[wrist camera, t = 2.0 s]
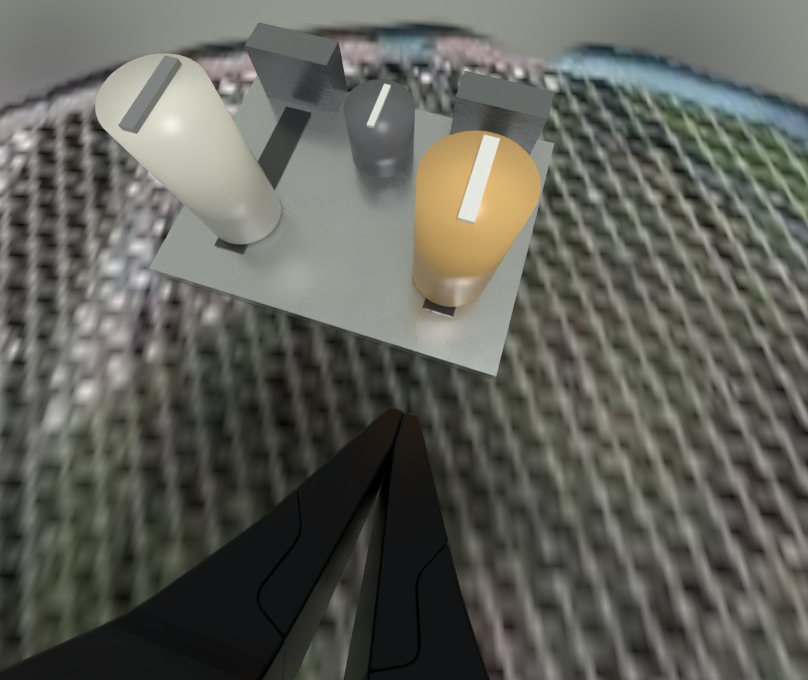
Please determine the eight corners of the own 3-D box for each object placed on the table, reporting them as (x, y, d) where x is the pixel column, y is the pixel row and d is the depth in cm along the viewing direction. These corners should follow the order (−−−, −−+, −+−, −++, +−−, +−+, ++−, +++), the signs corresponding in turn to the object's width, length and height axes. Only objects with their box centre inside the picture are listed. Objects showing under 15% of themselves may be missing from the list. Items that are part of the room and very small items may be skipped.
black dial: (402, 184, 20) (402, 141, 16) (343, 168, 20) (332, 123, 17) (421, 135, 20) (424, 85, 17) (364, 120, 21) (357, 69, 18)
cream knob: (263, 253, 18) (173, 150, 11) (195, 233, 18) (67, 121, 11) (292, 191, 19) (226, 62, 12) (227, 173, 19) (127, 37, 12)
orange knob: (478, 316, 17) (528, 247, 10) (402, 294, 17) (400, 212, 10) (496, 248, 18) (554, 142, 11) (424, 228, 18) (436, 113, 11)
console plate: (490, 378, 18) (515, 367, 14) (164, 276, 19) (100, 239, 15) (546, 158, 21) (579, 97, 17) (267, 88, 23) (237, 17, 19)
